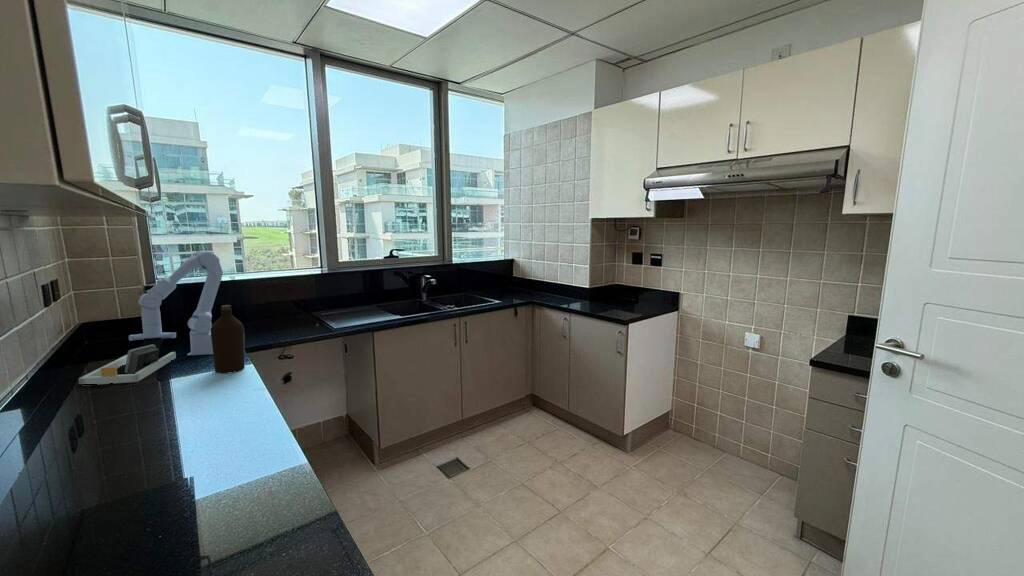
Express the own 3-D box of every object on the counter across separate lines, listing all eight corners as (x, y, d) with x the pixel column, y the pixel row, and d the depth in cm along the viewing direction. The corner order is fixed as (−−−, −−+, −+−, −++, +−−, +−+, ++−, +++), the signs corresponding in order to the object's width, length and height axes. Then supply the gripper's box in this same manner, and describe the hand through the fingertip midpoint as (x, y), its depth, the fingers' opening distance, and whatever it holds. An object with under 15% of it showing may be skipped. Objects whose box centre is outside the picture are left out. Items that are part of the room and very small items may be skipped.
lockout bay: (175, 357, 172) (174, 344, 171) (137, 381, 145) (136, 366, 144) (128, 360, 167) (127, 347, 166) (79, 385, 140) (77, 369, 139)
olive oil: (223, 376, 153) (219, 309, 150) (207, 371, 158) (202, 306, 154) (252, 368, 162) (249, 305, 159) (236, 363, 167) (232, 302, 164)
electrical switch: (150, 366, 161) (150, 343, 160) (161, 368, 161) (161, 345, 159) (124, 373, 152) (123, 349, 151) (135, 376, 151) (135, 352, 150)
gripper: (177, 320, 172) (180, 352, 174) (133, 322, 166) (136, 355, 168) (171, 323, 165) (174, 356, 167) (124, 326, 160) (128, 360, 162)
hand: (154, 356), depth 167 cm, fingers closed
